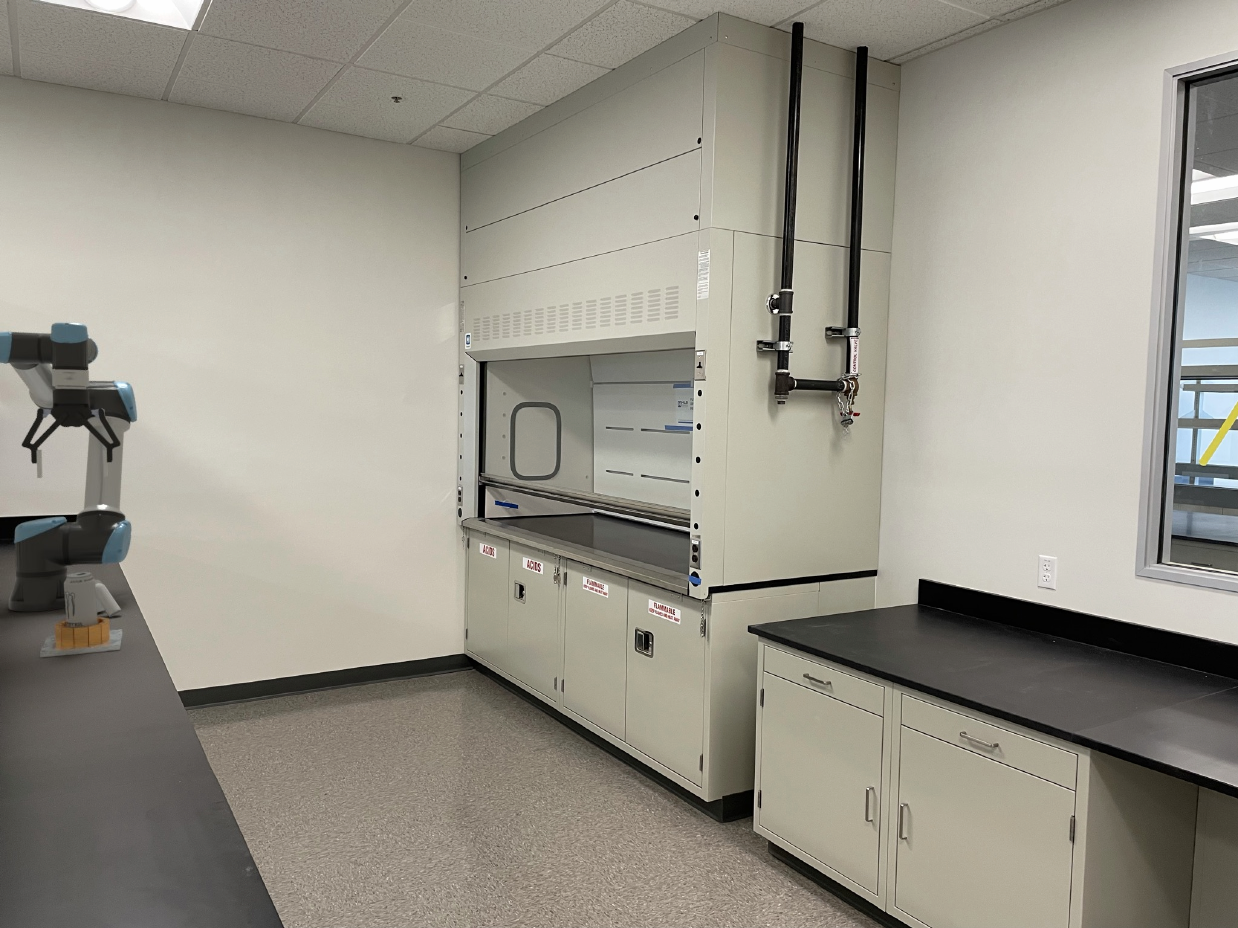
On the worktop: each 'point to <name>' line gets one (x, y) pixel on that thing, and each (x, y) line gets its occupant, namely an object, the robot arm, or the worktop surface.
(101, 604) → the wall hook
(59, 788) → the worktop surface
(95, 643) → the keeper
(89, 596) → the energy drink can
